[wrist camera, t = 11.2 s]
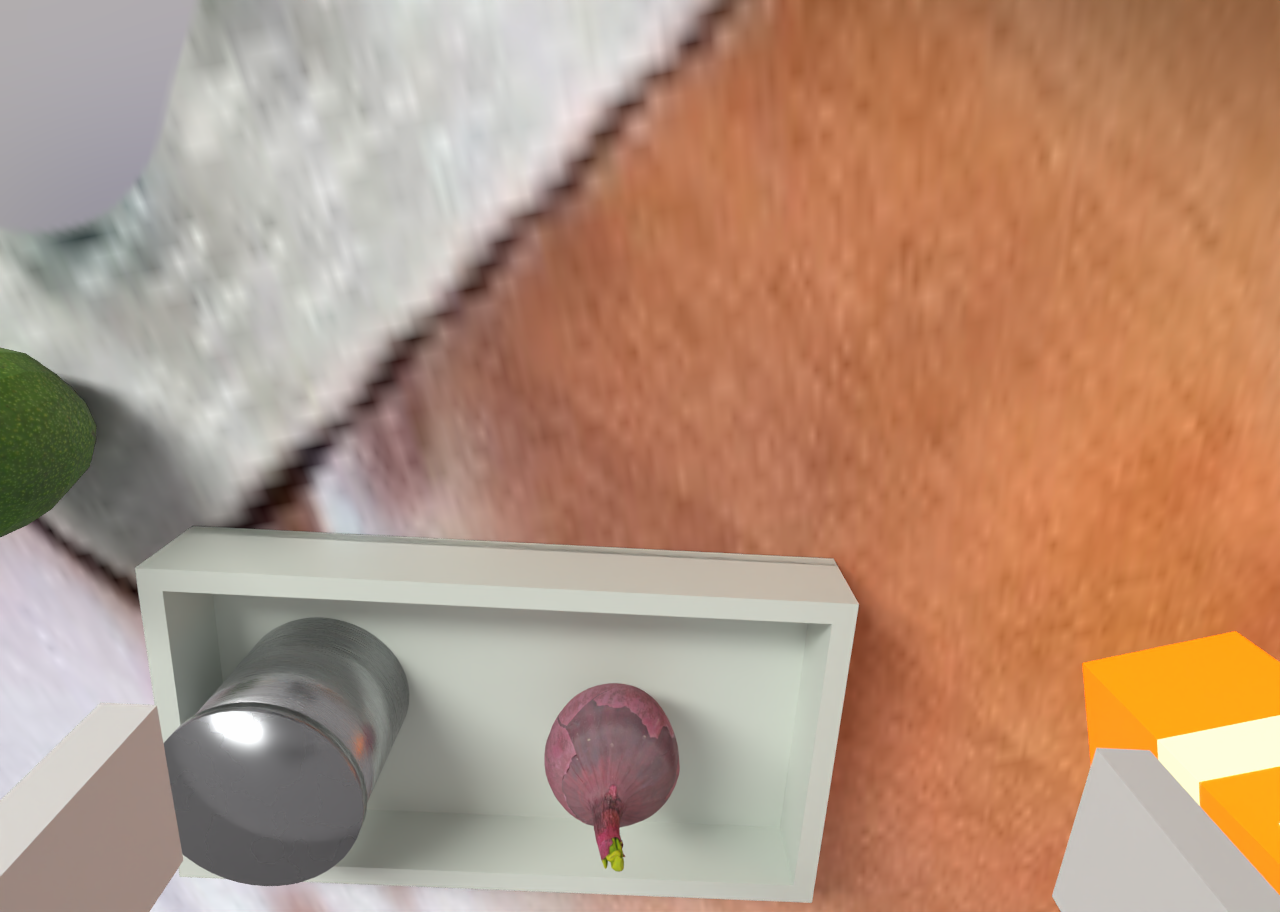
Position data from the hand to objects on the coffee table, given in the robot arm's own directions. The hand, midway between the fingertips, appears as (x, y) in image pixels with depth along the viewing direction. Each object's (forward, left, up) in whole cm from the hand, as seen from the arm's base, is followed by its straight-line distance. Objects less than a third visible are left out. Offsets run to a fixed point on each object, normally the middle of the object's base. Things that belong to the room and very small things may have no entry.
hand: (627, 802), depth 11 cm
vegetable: (+15, 0, -24) cm, 29 cm away
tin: (+15, -14, -24) cm, 32 cm away
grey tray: (+15, -5, -25) cm, 30 cm away
